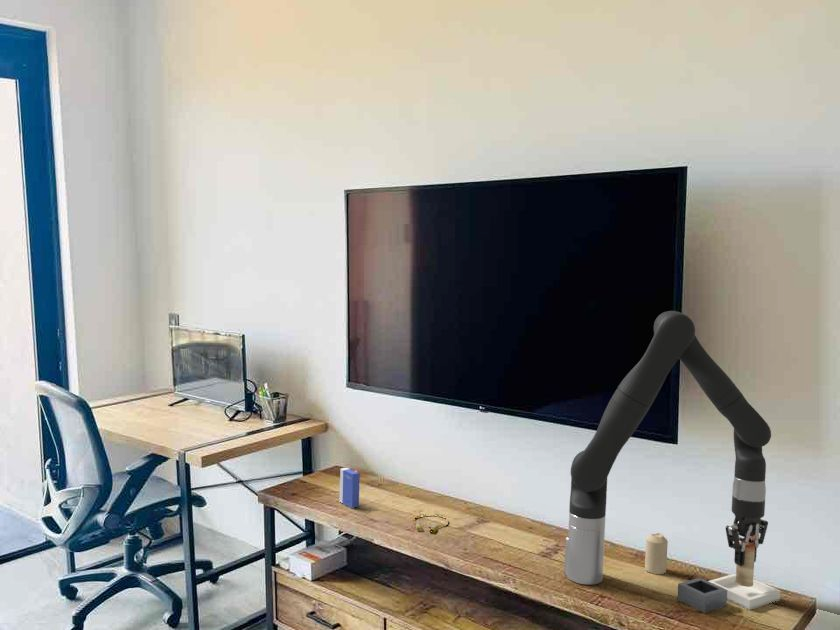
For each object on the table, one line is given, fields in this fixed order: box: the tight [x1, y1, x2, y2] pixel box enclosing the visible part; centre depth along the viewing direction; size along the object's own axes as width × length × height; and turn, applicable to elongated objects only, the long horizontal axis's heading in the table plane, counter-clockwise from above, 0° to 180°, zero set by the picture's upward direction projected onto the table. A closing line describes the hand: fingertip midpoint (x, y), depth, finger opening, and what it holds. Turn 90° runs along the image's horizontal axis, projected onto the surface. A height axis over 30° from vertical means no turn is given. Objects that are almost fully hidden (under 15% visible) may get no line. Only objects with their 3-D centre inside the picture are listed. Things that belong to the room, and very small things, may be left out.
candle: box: [644, 532, 669, 575], centre depth 197 cm, size 6×6×10 cm
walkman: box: [338, 467, 361, 509], centre depth 244 cm, size 8×3×12 cm, turn 39°
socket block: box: [676, 577, 728, 614], centre depth 178 cm, size 8×8×4 cm
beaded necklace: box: [413, 513, 446, 534], centre depth 228 cm, size 12×16×2 cm
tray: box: [708, 572, 781, 611], centre depth 183 cm, size 12×12×2 cm
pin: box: [735, 540, 755, 587], centre depth 182 cm, size 4×4×10 cm
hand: (745, 562), depth 182 cm, fingers closed on pin, 4 cm apart
